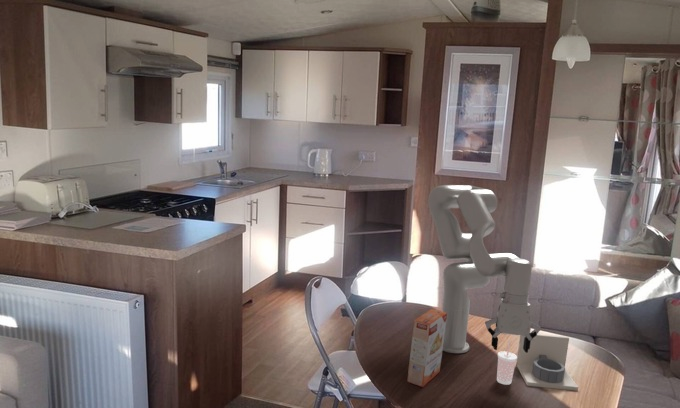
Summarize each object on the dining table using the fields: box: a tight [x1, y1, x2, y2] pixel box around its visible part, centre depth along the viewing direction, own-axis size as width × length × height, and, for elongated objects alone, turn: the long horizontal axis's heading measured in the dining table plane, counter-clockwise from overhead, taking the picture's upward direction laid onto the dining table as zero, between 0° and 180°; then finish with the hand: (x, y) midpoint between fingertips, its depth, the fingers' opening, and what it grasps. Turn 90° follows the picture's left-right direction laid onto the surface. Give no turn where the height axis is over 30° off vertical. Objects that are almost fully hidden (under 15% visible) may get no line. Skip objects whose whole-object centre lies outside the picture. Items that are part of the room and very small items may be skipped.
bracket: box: [515, 333, 579, 392], centre depth 191 cm, size 16×15×12 cm
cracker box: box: [406, 308, 447, 388], centre depth 184 cm, size 14×6×21 cm, turn 148°
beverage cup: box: [496, 339, 518, 386], centre depth 186 cm, size 6×6×14 cm
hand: (510, 349), depth 185 cm, fingers open, 9 cm apart
